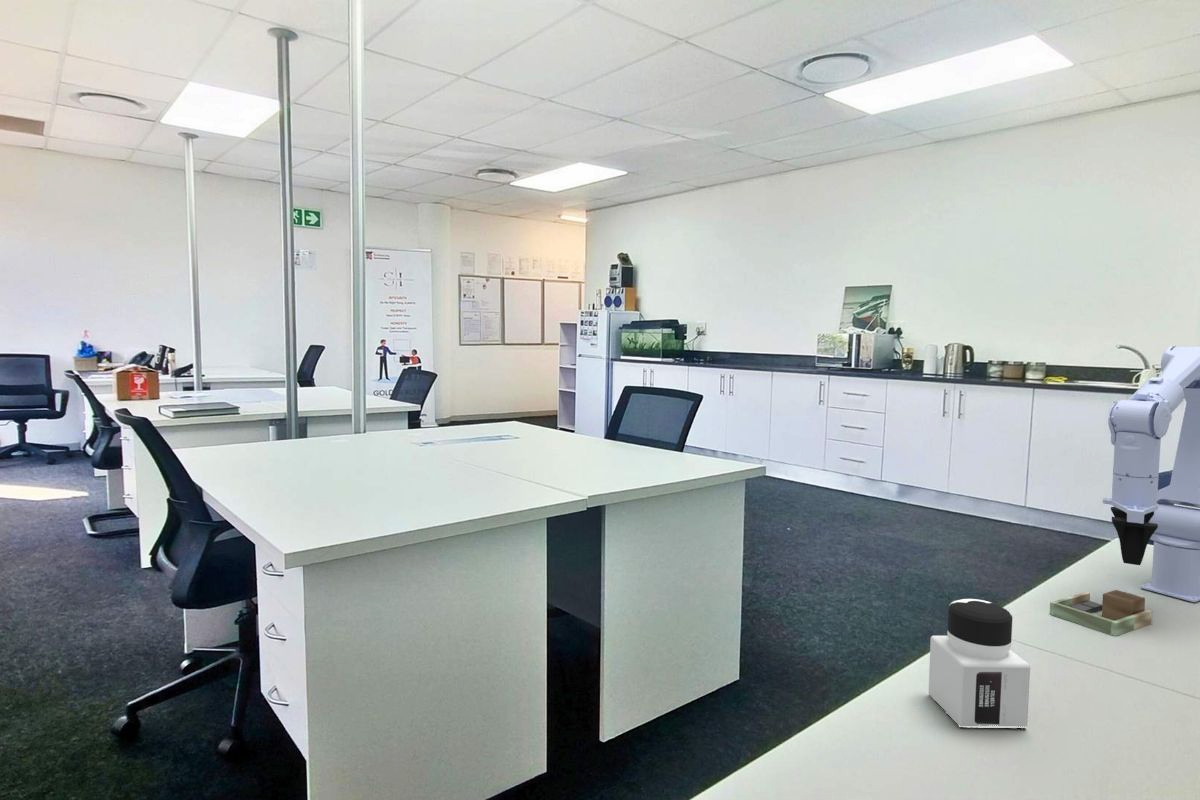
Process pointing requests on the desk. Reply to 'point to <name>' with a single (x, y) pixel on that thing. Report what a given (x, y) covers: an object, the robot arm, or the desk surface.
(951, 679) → the container
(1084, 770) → the desk surface
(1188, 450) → the robot arm
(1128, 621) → the green beige u-shaped frame
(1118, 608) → the block
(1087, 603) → the tiles
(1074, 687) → the desk surface
